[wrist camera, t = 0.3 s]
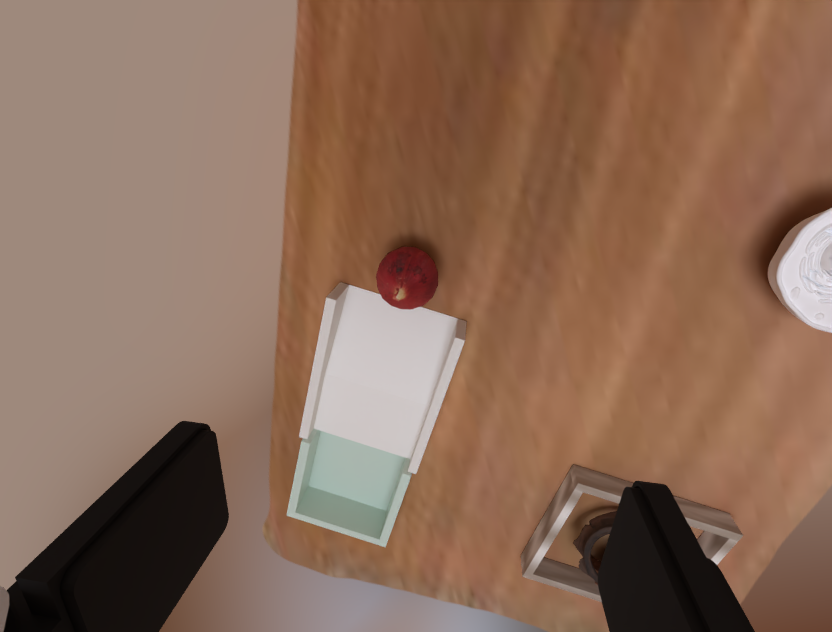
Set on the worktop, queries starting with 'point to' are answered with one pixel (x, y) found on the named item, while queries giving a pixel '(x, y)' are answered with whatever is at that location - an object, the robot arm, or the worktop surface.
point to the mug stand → (714, 522)
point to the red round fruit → (407, 278)
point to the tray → (348, 487)
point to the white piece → (381, 372)
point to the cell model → (806, 271)
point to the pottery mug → (589, 537)
